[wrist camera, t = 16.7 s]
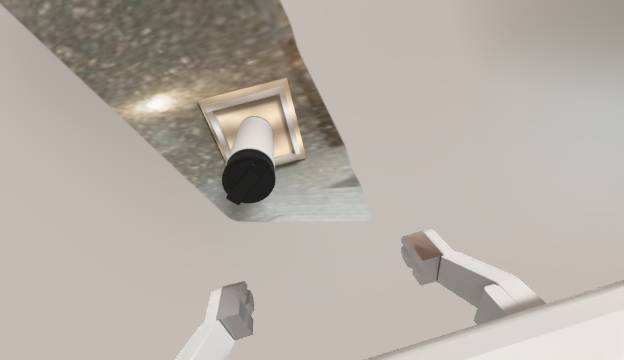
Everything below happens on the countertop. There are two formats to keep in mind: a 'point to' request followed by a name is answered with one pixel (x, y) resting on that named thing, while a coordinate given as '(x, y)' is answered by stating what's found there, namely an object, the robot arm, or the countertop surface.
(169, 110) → the countertop surface
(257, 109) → the square metal tray
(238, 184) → the travel mug
